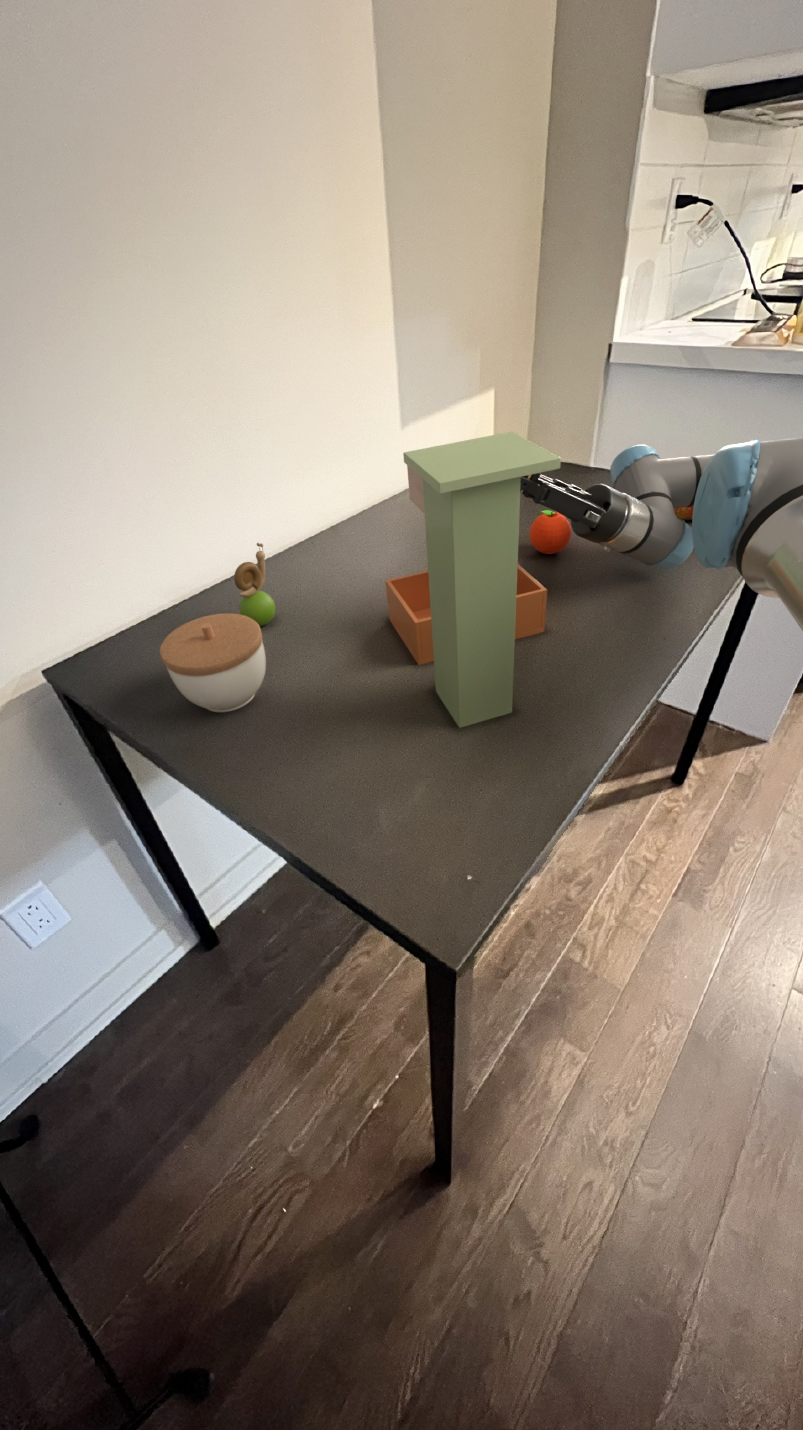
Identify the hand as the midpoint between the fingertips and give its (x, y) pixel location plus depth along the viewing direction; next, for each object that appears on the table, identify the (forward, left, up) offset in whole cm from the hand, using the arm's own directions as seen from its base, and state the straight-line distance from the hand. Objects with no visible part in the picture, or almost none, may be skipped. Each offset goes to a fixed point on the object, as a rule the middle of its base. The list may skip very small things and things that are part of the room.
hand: (477, 460), depth 78 cm
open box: (+1, +2, -24) cm, 24 cm away
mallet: (0, 0, -4) cm, 4 cm away
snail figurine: (+30, +16, -24) cm, 41 cm away
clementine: (+2, -26, -24) cm, 35 cm away
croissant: (-9, -50, -24) cm, 56 cm away
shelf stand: (-10, +15, -24) cm, 30 cm away
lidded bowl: (+20, +32, -24) cm, 44 cm away
